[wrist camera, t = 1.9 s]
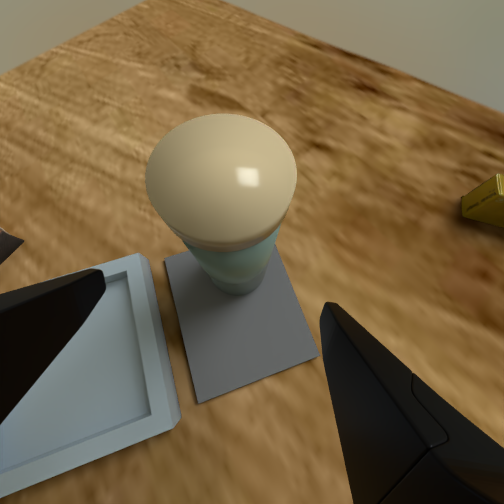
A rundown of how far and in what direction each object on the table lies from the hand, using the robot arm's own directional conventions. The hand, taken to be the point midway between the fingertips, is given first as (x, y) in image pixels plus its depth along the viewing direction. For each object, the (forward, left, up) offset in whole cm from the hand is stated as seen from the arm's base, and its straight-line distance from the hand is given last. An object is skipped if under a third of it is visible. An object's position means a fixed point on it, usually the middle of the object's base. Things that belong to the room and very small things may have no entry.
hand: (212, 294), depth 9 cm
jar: (+4, -2, -11) cm, 11 cm away
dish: (+1, +12, -11) cm, 16 cm away
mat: (+1, -1, -11) cm, 11 cm away
